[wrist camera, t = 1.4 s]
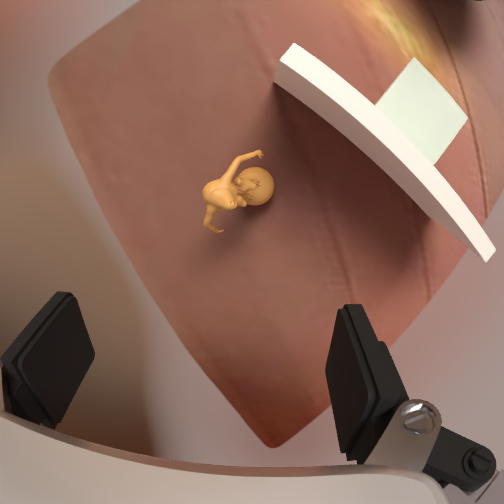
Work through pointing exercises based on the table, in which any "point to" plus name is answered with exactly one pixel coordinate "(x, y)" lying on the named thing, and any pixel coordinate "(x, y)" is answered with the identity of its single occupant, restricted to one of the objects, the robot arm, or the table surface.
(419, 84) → the mat
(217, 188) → the figurine
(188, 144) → the table surface
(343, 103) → the screen
